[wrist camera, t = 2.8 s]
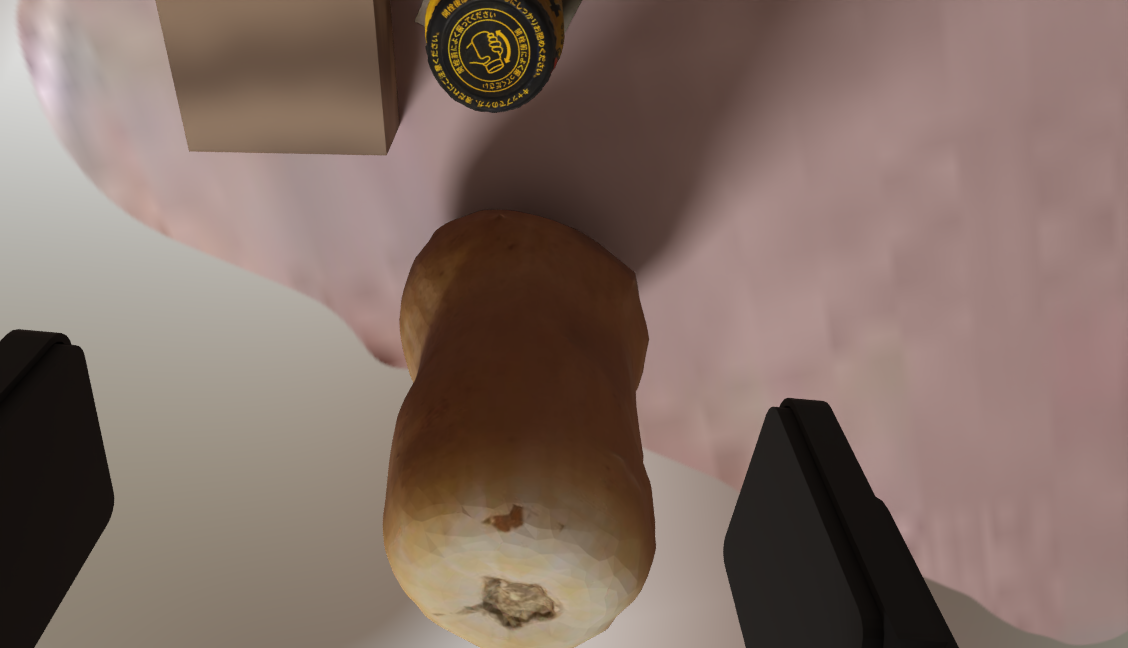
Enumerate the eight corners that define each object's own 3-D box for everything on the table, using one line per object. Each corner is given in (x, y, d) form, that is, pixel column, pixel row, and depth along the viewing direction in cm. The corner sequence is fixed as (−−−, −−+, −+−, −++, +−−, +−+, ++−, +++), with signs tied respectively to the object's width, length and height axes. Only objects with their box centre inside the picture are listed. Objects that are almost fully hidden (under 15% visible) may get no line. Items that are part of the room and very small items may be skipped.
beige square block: (182, -78, 41) (141, -64, 36) (385, -72, 41) (367, -57, 37) (221, 119, 46) (189, 151, 42) (400, 123, 46) (386, 155, 42)
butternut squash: (408, 347, 54) (326, 692, 33) (422, 155, 47) (329, 439, 26) (614, 370, 56) (661, 715, 35) (657, 188, 49) (749, 482, 28)
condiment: (414, 20, 43) (377, 86, 33) (483, -143, 39) (464, -125, 29) (538, 84, 45) (538, 165, 35) (614, -65, 41) (639, -23, 31)
